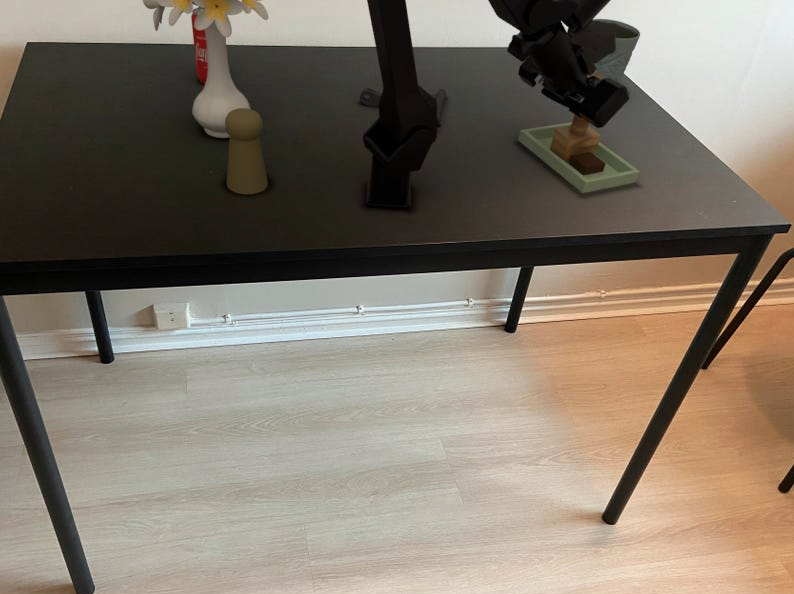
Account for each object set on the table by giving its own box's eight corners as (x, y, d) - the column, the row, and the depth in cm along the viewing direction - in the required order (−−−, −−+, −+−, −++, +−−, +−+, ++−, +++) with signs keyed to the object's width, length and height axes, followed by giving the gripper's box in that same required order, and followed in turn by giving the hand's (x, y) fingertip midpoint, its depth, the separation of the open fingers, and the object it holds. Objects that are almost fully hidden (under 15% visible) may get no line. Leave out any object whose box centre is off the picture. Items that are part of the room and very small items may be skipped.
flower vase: (159, 117, 119) (134, -50, 102) (268, 110, 123) (262, -51, 106) (164, 154, 110) (139, -22, 93) (282, 145, 114) (278, -24, 97)
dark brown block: (603, 171, 114) (606, 163, 113) (583, 175, 112) (585, 167, 111) (587, 160, 116) (590, 151, 115) (568, 163, 115) (570, 155, 114)
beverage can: (232, 79, 132) (227, 11, 123) (213, 88, 128) (207, 18, 120) (210, 72, 133) (204, 4, 125) (191, 80, 130) (184, 11, 122)
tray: (635, 185, 112) (640, 171, 111) (581, 196, 109) (585, 182, 107) (568, 134, 124) (571, 121, 122) (517, 143, 120) (520, 129, 119)
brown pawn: (250, 198, 102) (246, 126, 95) (218, 185, 104) (211, 113, 97) (276, 182, 106) (274, 111, 98) (244, 169, 108) (240, 99, 100)
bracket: (367, 87, 133) (368, 72, 131) (445, 98, 132) (447, 83, 130) (352, 120, 123) (352, 104, 121) (436, 132, 121) (438, 117, 120)
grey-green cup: (564, 79, 142) (580, 16, 134) (614, 83, 142) (633, 20, 134) (573, 101, 135) (590, 35, 126) (625, 105, 135) (646, 40, 127)
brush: (563, 163, 114) (586, 84, 105) (548, 150, 117) (570, 72, 108) (593, 157, 116) (619, 80, 107) (578, 145, 119) (602, 68, 110)
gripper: (642, 28, 93) (671, 98, 105) (551, -15, 105) (586, 52, 116) (580, 96, 96) (615, 156, 107) (498, 46, 107) (538, 106, 119)
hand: (589, 115), depth 112 cm, fingers closed on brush, 2 cm apart
